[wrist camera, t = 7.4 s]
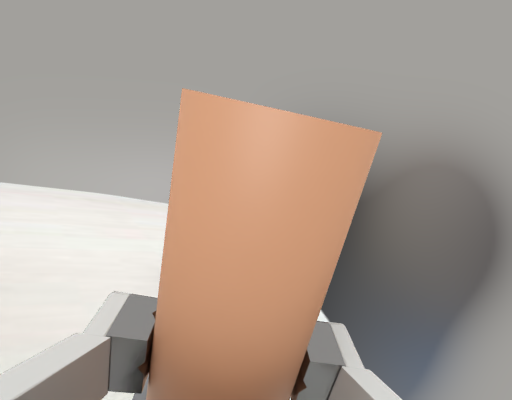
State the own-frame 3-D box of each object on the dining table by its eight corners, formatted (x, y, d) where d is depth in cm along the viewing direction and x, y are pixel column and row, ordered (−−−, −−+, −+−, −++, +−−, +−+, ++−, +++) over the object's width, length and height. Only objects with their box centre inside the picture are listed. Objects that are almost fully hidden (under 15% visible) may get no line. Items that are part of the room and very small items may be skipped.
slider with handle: (268, 718, 8) (617, 185, 3) (40, 721, 7) (-38, 41, 2) (257, 436, 14) (355, 126, 9) (137, 424, 14) (174, 86, 9)
